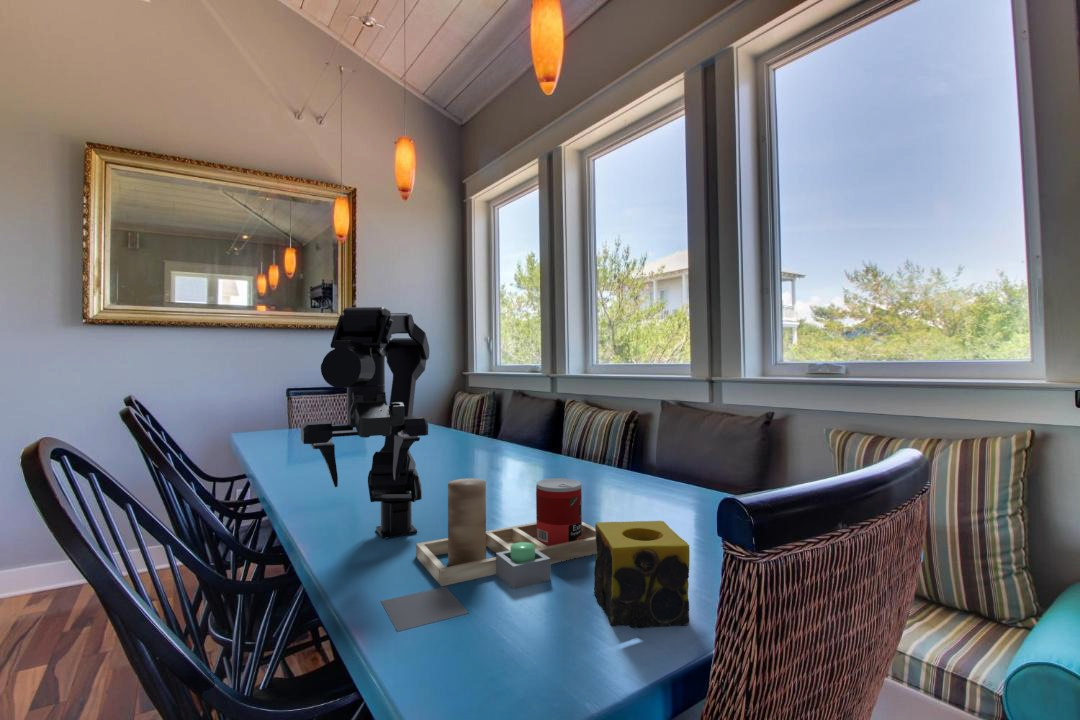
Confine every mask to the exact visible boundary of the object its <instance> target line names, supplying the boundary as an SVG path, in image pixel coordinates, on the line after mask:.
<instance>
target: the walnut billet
mask: <svg viewBox="0 0 1080 720" xmlns="http://www.w3.org/2000/svg"><path fill="white" fill-rule="evenodd" d="M486 484H487V481H486V480H483V479H480V478H458V479H454V480H450V481H448V483H447V538H448V553H447V560H448V561H447V564H448V567H450V566H455V565H460V564H464V563H469V562H474V561H479V560H484V559H487V546H486V531H487V518H486V517H487V492H486V491H487V486H486Z"/></svg>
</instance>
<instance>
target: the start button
mask: <svg viewBox="0 0 1080 720" xmlns="http://www.w3.org/2000/svg"><path fill="white" fill-rule="evenodd" d="M511 560H512V561H513V562H515V563H516V564H517V563H521V562H526V561H531V560H535V545H534V544H532V543H528V542H519V543H514V544H512V545H511Z"/></svg>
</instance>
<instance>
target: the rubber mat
mask: <svg viewBox="0 0 1080 720" xmlns="http://www.w3.org/2000/svg"><path fill="white" fill-rule="evenodd" d="M380 603H381V605H382V606H383V608H384V610H385V612H386V614H387V616H388V617H389V620H390V622H391V623H392V625H393V627H394V628H395V631H396V633H398V632H402V631H406V630H409V629H414V628H417V627H422V626H426V625H429V624H433V623H437V622H441V621H444V620H449V619H453V618H457V617H460V616H464V615H468V614H470V613H469V612H468V610H467V609H466V608H465V606H463V605H462V603H461V602H460V601H459V600H458V599H457V597H456V596H455V595H454V594H453V593H452V592H451V591H450V590H449V588H448V587H447V586H440V587H437V588H433V589H429V590H425V591H420V592H416V593H411V594H410V593H409V594H406V595H402V596H398V597H393V598H389V599H384V600H380Z"/></svg>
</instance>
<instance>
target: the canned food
mask: <svg viewBox="0 0 1080 720" xmlns="http://www.w3.org/2000/svg"><path fill="white" fill-rule="evenodd" d="M535 487H536V488H535V489H536V490H535V499H536V500H535V501H536V502H535V503H536V504H535V505H536V507H535V509H536V513H535V514H536V515H535V516H536V521H535V522H536V523H537V538H536V540H538V541H539V542H541V543H543V544H544V545H546V546H552V545H557V544H562V543H567V542H572V541H576V540H581V539H582V522H583V521H582V515H583V514H582V513H583V512H582V511H583V509H582V506H583V505H582V504H583V503H582V502H583V501H582V497H583V496H582V494H583V493H582V483H581V482H580V481H578V480H576V479H573V478H571V479H570V478H561V477H560V478H559V477H558V478H556V477H555V478H554V477H553V478H546V479H541V480H539V481H537V482H536V485H535Z"/></svg>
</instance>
